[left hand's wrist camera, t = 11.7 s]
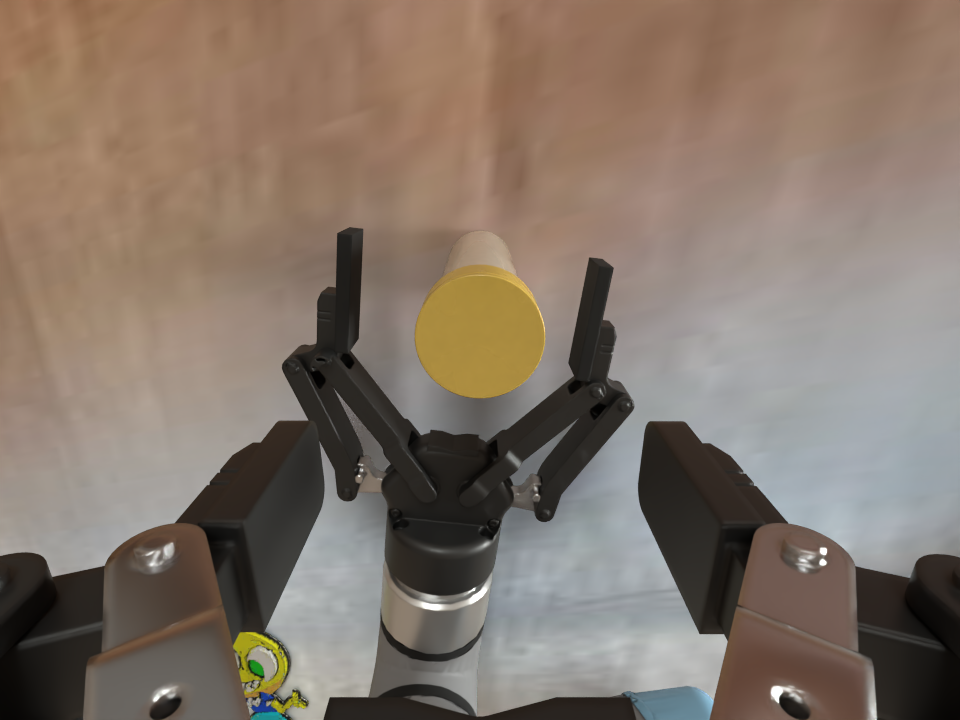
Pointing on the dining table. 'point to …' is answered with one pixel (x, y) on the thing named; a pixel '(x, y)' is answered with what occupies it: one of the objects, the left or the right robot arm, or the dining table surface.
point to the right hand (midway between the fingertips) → (477, 245)
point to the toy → (264, 675)
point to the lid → (479, 332)
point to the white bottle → (479, 252)
